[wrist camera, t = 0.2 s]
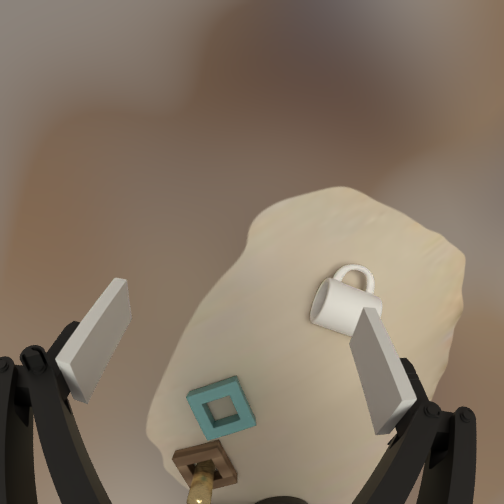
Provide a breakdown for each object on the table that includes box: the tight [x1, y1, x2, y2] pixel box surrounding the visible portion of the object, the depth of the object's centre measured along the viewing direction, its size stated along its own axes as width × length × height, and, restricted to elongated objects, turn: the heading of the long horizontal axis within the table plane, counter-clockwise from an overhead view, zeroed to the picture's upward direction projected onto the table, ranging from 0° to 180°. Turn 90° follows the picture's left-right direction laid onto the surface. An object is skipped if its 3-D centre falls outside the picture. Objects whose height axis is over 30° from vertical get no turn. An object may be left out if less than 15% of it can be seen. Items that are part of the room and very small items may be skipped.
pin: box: [187, 459, 216, 504], centre depth 38 cm, size 4×4×14 cm
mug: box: [310, 264, 382, 337], centre depth 48 cm, size 12×10×8 cm
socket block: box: [186, 376, 256, 441], centre depth 46 cm, size 9×9×4 cm
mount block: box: [172, 440, 237, 489], centre depth 44 cm, size 9×9×4 cm
